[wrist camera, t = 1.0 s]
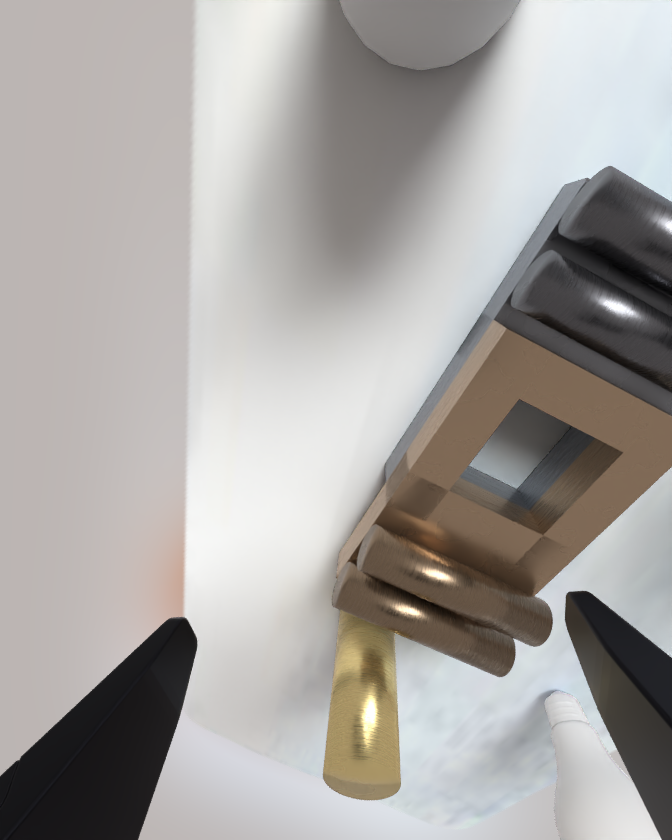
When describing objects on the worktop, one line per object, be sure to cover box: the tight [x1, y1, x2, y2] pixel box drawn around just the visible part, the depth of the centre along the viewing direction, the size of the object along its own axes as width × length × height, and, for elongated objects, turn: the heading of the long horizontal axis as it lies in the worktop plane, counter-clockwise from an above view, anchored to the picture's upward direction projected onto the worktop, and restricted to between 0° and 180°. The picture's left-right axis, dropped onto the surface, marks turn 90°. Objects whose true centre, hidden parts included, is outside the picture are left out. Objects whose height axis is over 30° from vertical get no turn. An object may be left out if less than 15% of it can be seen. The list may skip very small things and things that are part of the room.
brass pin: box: [323, 610, 401, 800], centre depth 24 cm, size 4×4×10 cm
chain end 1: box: [385, 166, 672, 510], centre depth 18 cm, size 10×16×4 cm, turn 154°
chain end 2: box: [332, 320, 672, 677], centre depth 20 cm, size 10×16×6 cm, turn 154°
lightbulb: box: [544, 691, 662, 840], centre depth 26 cm, size 6×6×11 cm
